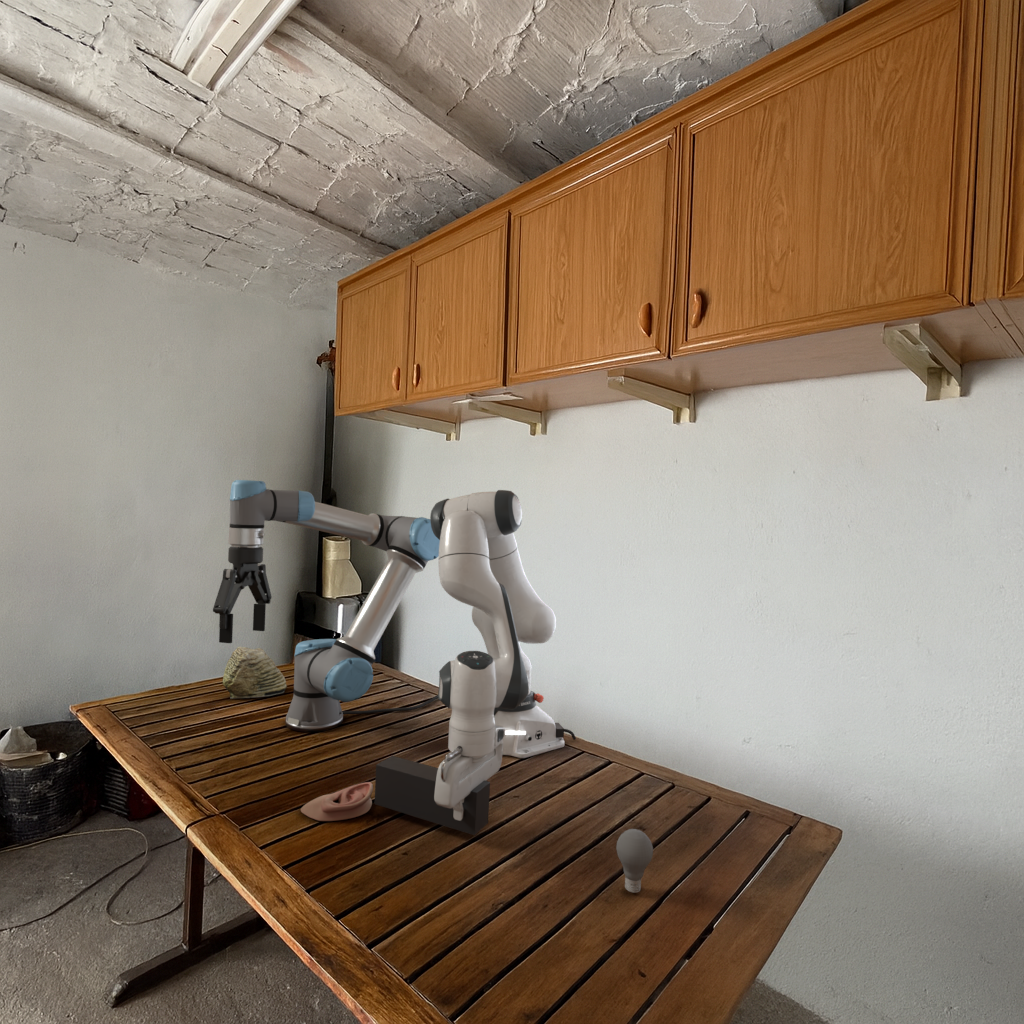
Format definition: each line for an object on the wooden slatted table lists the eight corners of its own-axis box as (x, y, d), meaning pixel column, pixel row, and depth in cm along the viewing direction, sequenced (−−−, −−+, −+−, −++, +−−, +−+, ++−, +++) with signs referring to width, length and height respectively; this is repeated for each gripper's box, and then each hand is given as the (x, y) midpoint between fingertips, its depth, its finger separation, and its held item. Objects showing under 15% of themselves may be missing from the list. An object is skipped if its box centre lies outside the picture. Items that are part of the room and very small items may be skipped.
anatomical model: (293, 796, 125) (321, 772, 136) (292, 816, 125) (321, 791, 136) (355, 806, 122) (379, 781, 133) (354, 826, 122) (379, 799, 133)
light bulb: (610, 879, 108) (613, 822, 108) (644, 879, 109) (647, 822, 109) (619, 902, 102) (622, 840, 102) (655, 901, 103) (658, 840, 103)
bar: (374, 804, 127) (376, 764, 127) (390, 793, 132) (392, 755, 132) (474, 835, 117) (476, 792, 117) (488, 823, 122) (490, 781, 122)
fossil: (218, 695, 195) (220, 647, 195) (278, 685, 208) (279, 640, 207) (228, 703, 189) (230, 653, 188) (289, 692, 201) (290, 645, 201)
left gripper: (229, 550, 135) (225, 649, 136) (287, 543, 160) (284, 627, 160) (197, 548, 136) (193, 646, 137) (260, 542, 161) (257, 625, 161)
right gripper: (458, 761, 110) (454, 840, 110) (509, 726, 129) (506, 793, 129) (427, 754, 113) (424, 830, 113) (482, 720, 131) (479, 786, 132)
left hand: (242, 636), depth 148 cm, fingers open, 13 cm apart
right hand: (468, 810), depth 121 cm, fingers closed on bar, 5 cm apart
